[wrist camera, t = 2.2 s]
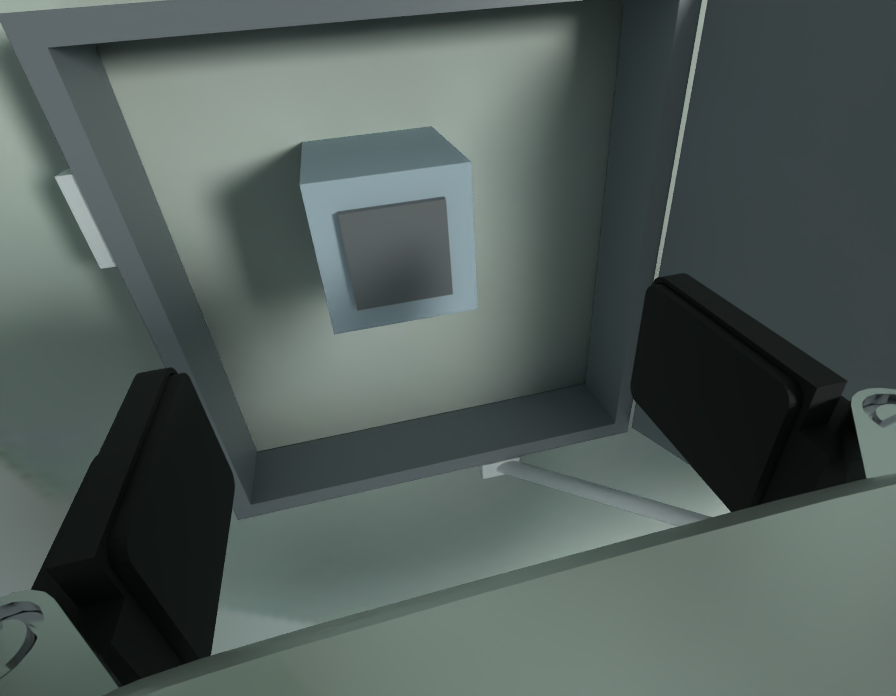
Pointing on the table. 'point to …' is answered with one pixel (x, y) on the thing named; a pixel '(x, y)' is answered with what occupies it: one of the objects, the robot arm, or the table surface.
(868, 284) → the lid
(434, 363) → the table surface
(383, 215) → the module
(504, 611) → the robot arm
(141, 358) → the table surface
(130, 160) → the case
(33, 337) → the table surface
